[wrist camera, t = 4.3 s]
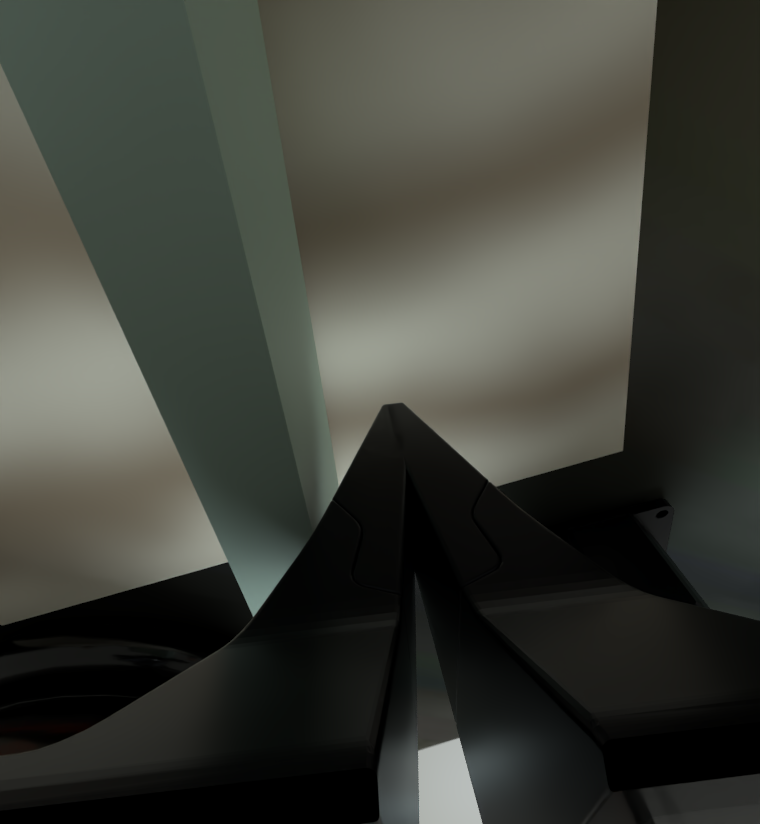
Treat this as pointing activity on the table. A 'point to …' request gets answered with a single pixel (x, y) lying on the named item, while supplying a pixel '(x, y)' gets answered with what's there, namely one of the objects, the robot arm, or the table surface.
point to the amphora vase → (84, 676)
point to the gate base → (354, 273)
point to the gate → (190, 245)
